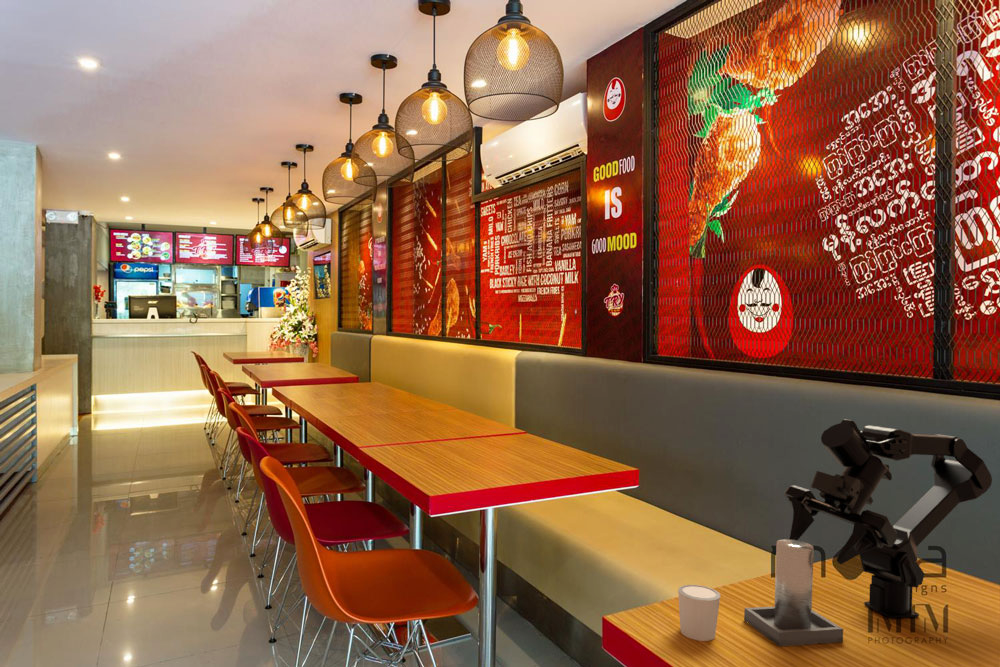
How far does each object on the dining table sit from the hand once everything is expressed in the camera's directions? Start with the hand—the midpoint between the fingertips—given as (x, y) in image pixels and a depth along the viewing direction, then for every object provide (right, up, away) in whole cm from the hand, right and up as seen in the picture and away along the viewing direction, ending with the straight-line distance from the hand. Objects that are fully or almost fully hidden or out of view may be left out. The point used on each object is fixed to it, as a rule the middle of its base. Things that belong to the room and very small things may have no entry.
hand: (813, 552), depth 113 cm
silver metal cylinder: (-5, -12, -2) cm, 13 cm away
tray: (-5, -13, -2) cm, 14 cm away
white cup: (-22, -12, -5) cm, 26 cm away
